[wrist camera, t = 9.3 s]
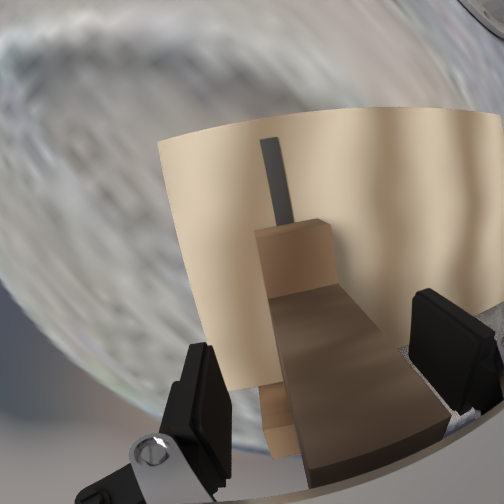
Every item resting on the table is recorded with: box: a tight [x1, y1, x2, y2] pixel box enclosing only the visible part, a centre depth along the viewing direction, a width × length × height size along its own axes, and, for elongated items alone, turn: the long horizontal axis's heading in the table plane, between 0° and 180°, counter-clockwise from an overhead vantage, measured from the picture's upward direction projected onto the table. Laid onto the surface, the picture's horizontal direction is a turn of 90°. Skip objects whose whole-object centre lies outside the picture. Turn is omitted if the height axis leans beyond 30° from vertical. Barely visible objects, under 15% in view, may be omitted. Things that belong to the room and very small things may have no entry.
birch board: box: [157, 107, 504, 391], centre depth 15 cm, size 22×14×2 cm, turn 101°
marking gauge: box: [254, 218, 452, 489], centre depth 10 cm, size 6×12×12 cm, turn 11°
